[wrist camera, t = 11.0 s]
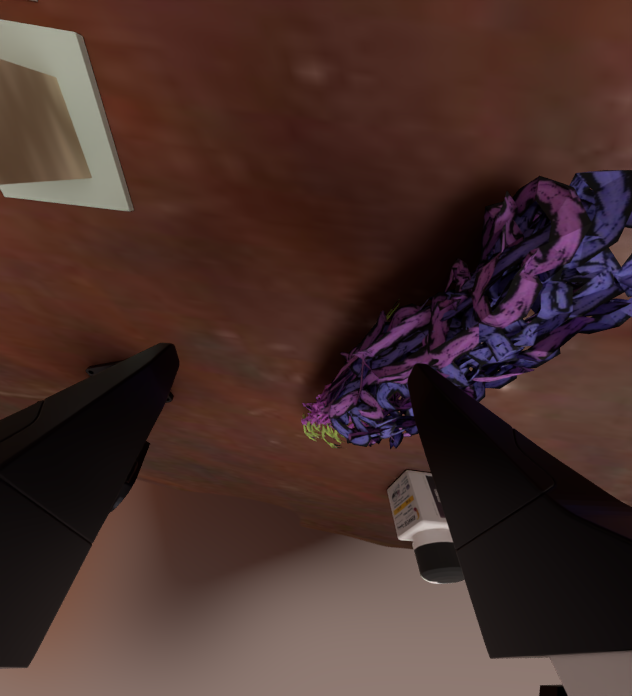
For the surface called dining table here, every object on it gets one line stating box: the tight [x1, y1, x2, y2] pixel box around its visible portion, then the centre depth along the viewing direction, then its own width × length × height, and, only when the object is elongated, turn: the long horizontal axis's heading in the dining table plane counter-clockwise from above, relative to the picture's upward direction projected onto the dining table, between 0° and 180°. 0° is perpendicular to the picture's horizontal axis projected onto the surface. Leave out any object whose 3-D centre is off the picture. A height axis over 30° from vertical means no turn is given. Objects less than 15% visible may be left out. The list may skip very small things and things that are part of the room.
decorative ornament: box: [301, 170, 632, 449], centre depth 21 cm, size 13×11×30 cm
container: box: [387, 470, 464, 584], centre depth 38 cm, size 8×8×13 cm
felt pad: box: [0, 20, 134, 211], centre depth 15 cm, size 8×8×1 cm
